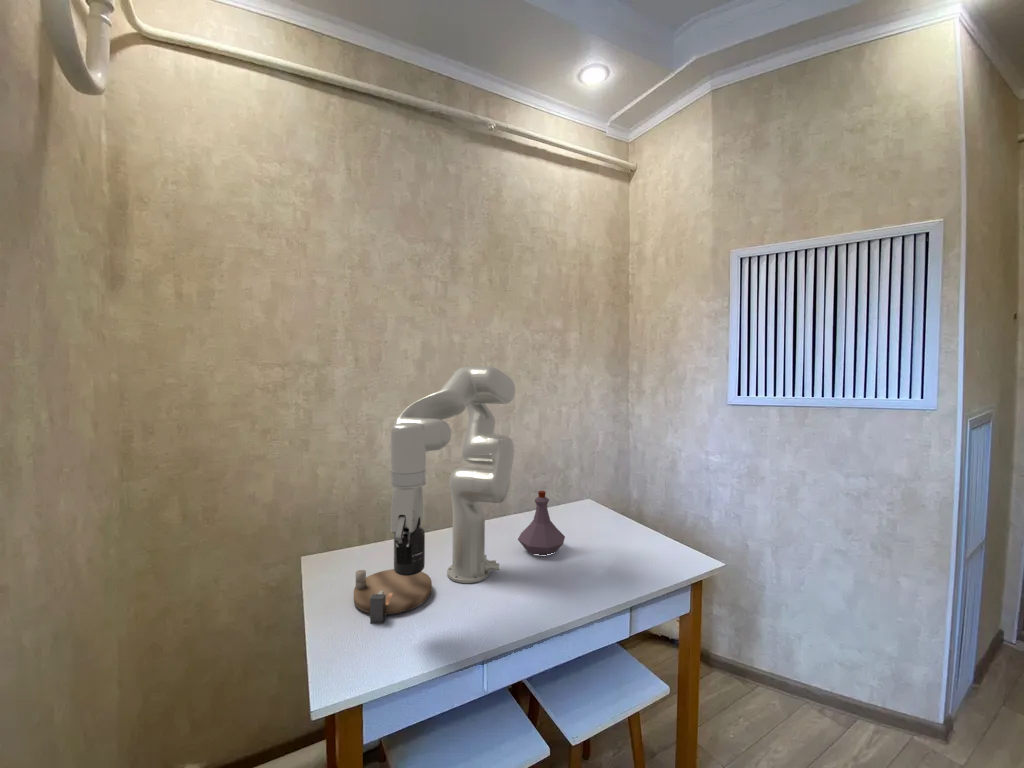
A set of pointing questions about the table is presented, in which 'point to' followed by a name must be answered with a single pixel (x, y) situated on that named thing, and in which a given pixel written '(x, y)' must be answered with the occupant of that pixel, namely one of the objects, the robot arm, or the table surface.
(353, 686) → the table surface
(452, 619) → the table surface
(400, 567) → the supplement bottle
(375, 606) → the index pointer
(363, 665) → the table surface
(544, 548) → the flask
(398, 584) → the disc
